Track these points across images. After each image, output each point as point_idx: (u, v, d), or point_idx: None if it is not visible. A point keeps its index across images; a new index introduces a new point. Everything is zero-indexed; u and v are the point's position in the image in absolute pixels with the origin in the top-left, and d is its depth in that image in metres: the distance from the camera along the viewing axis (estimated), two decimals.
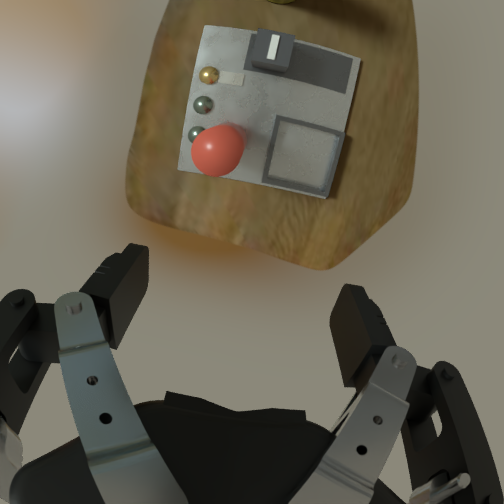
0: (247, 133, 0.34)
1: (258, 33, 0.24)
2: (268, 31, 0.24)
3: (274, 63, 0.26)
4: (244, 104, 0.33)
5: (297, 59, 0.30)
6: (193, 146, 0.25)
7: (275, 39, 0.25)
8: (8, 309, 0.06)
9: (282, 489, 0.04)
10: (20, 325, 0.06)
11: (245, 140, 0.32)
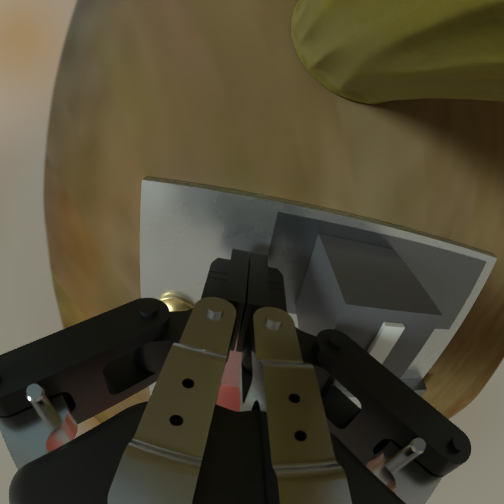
0: None
1: (342, 321, 0.09)
2: (375, 312, 0.08)
3: None
4: None
5: None
6: None
7: (389, 334, 0.09)
8: (133, 315, 0.07)
9: None
10: (138, 337, 0.07)
11: None
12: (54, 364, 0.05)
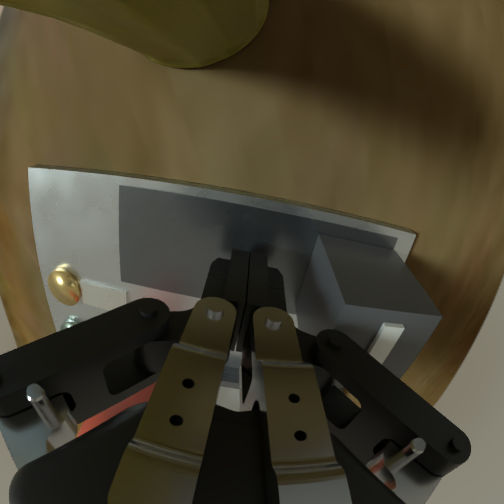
0: None
1: (342, 322, 0.09)
2: (375, 313, 0.08)
3: None
4: None
5: None
6: None
7: (389, 334, 0.09)
8: (133, 315, 0.07)
9: None
10: (138, 338, 0.07)
11: None
12: (54, 364, 0.05)
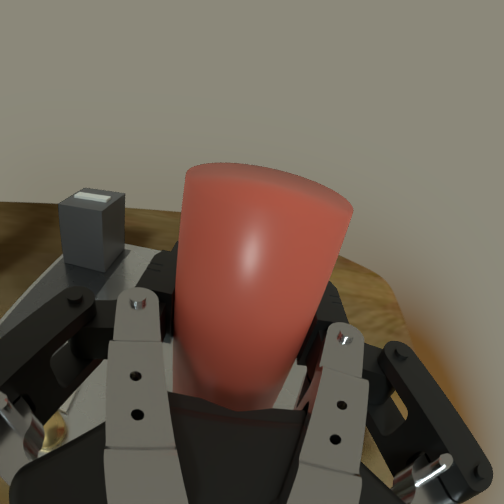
0: None
1: (65, 204, 0.18)
2: (68, 199, 0.19)
3: (115, 199, 0.20)
4: None
5: (62, 287, 0.18)
6: (265, 208, 0.06)
7: (82, 196, 0.20)
8: (63, 304, 0.07)
9: (268, 496, 0.04)
10: (73, 323, 0.06)
11: None
12: (7, 367, 0.04)
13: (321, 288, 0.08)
